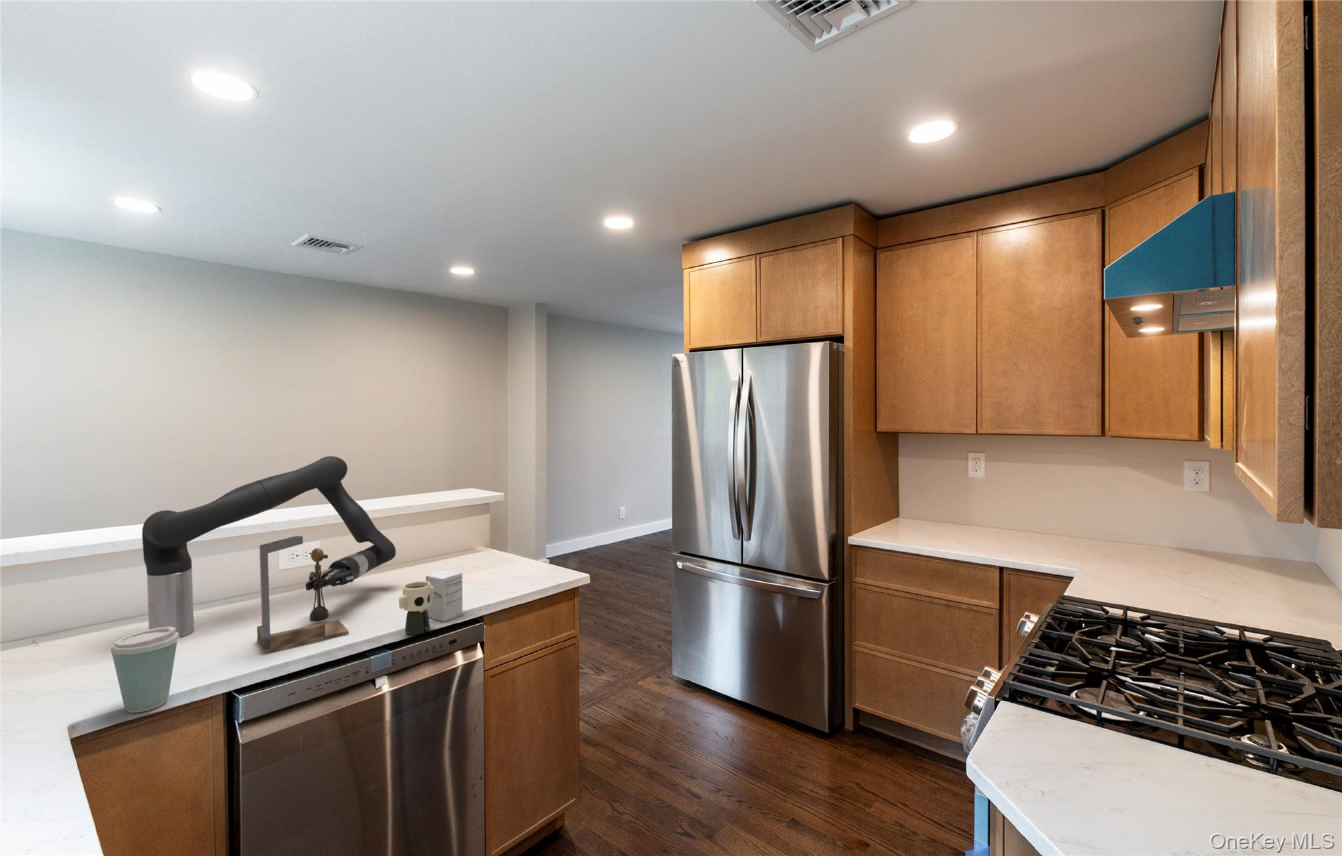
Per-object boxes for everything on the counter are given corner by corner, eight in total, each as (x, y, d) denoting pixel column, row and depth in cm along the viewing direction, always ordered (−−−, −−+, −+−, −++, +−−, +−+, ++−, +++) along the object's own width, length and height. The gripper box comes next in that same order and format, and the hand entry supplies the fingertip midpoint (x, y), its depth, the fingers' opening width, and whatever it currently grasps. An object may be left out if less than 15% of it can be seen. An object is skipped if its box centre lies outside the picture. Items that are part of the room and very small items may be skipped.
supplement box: (425, 618, 171) (424, 575, 171) (445, 610, 178) (445, 568, 177) (443, 622, 168) (442, 578, 167) (463, 614, 174) (463, 572, 174)
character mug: (409, 641, 155) (408, 592, 154) (391, 636, 158) (390, 588, 157) (443, 627, 164) (442, 581, 164) (425, 623, 167) (424, 577, 167)
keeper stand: (263, 654, 147) (260, 546, 145) (257, 640, 155) (254, 538, 154) (348, 634, 159) (346, 535, 158) (338, 622, 167) (336, 528, 166)
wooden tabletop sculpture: (335, 617, 167) (333, 547, 166) (320, 623, 163) (317, 551, 162) (321, 614, 169) (318, 545, 168) (305, 620, 165) (303, 549, 164)
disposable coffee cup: (99, 722, 116) (96, 646, 115) (132, 695, 126) (129, 626, 125) (164, 714, 119) (162, 640, 118) (191, 689, 129) (189, 621, 128)
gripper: (326, 556, 180) (286, 573, 163) (370, 556, 179) (334, 574, 162) (327, 580, 180) (287, 599, 163) (370, 581, 180) (335, 601, 162)
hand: (311, 587), depth 163 cm, fingers closed on wooden tabletop sculpture, 1 cm apart
